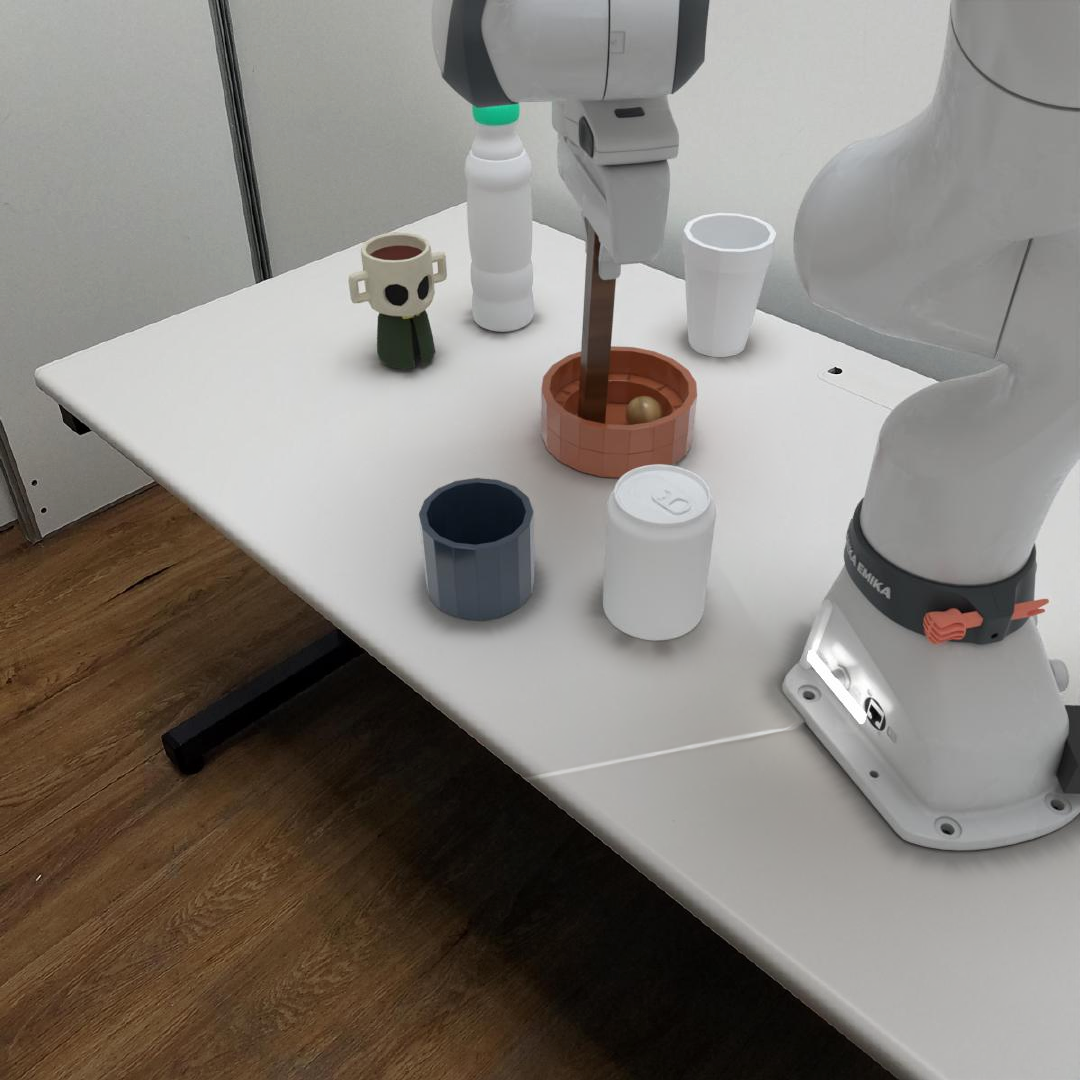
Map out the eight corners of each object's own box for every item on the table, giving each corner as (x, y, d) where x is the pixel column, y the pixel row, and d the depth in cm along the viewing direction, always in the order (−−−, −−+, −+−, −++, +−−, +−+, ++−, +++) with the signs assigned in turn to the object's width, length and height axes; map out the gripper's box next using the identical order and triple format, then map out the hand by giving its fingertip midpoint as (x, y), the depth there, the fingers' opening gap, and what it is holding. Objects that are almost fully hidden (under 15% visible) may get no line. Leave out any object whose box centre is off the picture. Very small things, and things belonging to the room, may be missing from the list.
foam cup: (758, 323, 121) (773, 214, 113) (762, 366, 114) (779, 253, 106) (674, 320, 122) (683, 211, 114) (674, 362, 115) (683, 249, 107)
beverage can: (647, 563, 90) (656, 447, 83) (723, 610, 86) (740, 492, 78) (581, 610, 86) (584, 492, 78) (658, 662, 82) (669, 543, 74)
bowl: (712, 470, 100) (719, 417, 96) (562, 493, 98) (563, 439, 94) (664, 389, 111) (668, 338, 107) (527, 407, 109) (527, 356, 105)
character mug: (373, 387, 112) (359, 272, 104) (348, 357, 117) (332, 245, 108) (466, 359, 116) (459, 247, 108) (437, 331, 121) (429, 222, 112)
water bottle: (533, 334, 120) (530, 107, 104) (470, 334, 120) (457, 107, 104) (534, 304, 125) (531, 83, 109) (474, 304, 126) (462, 84, 109)
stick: (605, 427, 102) (620, 228, 89) (582, 430, 102) (594, 230, 89) (599, 415, 104) (613, 217, 91) (577, 417, 103) (588, 219, 91)
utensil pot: (544, 614, 86) (543, 538, 81) (436, 632, 84) (428, 557, 79) (521, 545, 92) (519, 471, 87) (420, 561, 91) (412, 486, 86)
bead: (631, 443, 103) (667, 436, 103) (629, 414, 101) (666, 406, 101) (622, 422, 106) (657, 414, 106) (620, 392, 103) (656, 385, 103)
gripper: (539, 66, 91) (540, 222, 100) (603, 152, 75) (597, 326, 84) (610, 61, 92) (605, 215, 101) (687, 144, 77) (673, 317, 85)
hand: (602, 267), depth 92 cm, fingers closed on stick, 2 cm apart
